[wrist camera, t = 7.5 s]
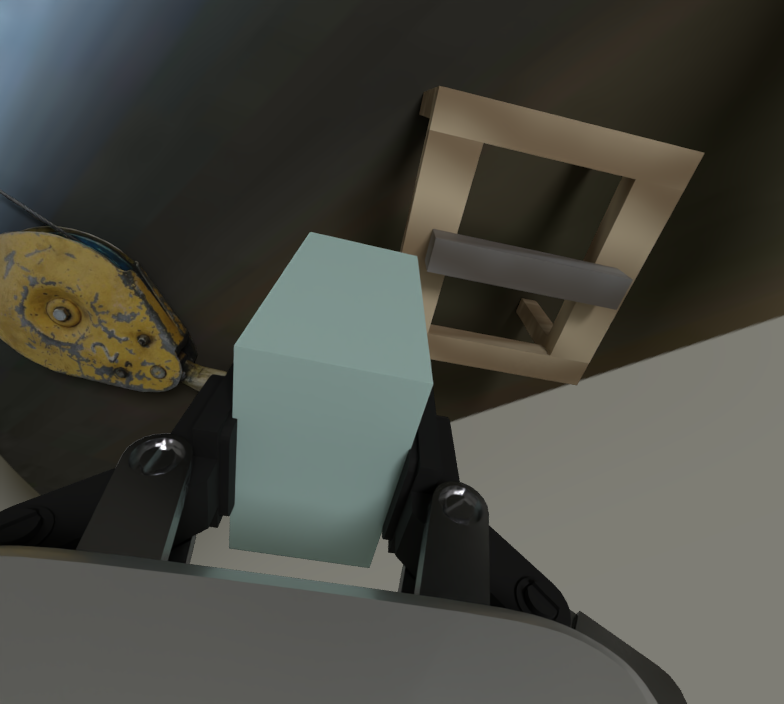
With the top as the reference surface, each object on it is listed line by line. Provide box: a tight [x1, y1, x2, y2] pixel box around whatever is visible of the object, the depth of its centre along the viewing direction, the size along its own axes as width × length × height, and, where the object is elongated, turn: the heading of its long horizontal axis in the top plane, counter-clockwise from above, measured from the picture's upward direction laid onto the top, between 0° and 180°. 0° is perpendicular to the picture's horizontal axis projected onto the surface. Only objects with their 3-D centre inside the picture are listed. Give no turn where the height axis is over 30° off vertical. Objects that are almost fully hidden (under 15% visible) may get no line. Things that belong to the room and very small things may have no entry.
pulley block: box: [0, 190, 227, 392], centre depth 40 cm, size 14×6×30 cm
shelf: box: [400, 86, 704, 385], centre depth 30 cm, size 16×15×14 cm
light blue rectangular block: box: [229, 232, 433, 568], centre depth 13 cm, size 7×4×8 cm, turn 167°
